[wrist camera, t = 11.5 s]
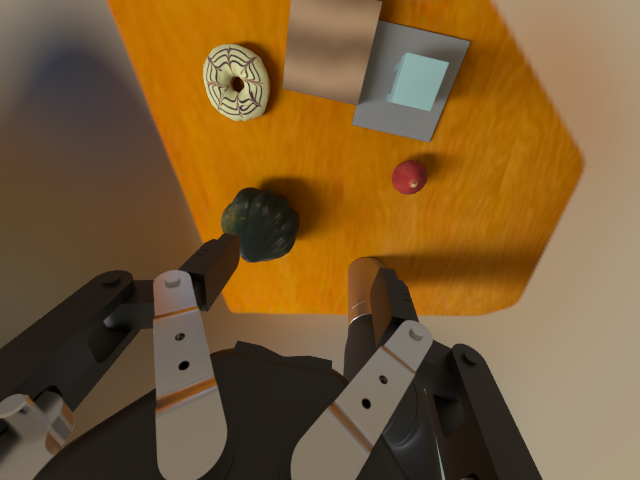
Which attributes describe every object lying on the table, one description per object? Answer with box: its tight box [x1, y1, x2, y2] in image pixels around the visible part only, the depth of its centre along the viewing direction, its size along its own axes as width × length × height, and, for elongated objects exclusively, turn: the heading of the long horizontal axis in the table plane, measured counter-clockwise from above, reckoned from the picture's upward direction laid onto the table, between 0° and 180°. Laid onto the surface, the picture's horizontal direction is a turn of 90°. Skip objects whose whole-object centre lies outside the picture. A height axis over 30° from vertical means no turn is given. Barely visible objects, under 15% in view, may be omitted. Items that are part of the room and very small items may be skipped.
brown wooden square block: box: [283, 0, 382, 105], centre depth 35 cm, size 12×12×4 cm
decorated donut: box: [203, 44, 271, 121], centre depth 39 cm, size 10×11×4 cm
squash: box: [221, 187, 299, 262], centre depth 47 cm, size 14×15×15 cm
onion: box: [392, 160, 427, 194], centre depth 42 cm, size 6×6×8 cm
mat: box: [352, 20, 470, 142], centre depth 38 cm, size 14×14×1 cm
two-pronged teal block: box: [386, 53, 449, 111], centre depth 34 cm, size 6×6×8 cm
